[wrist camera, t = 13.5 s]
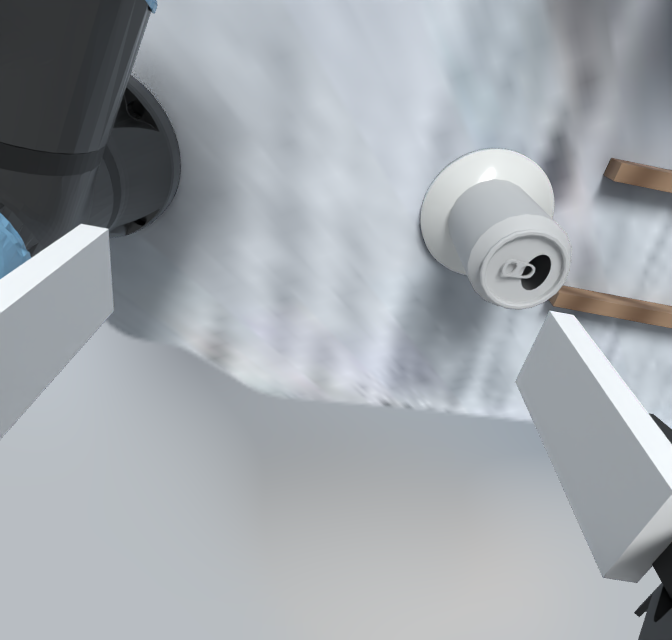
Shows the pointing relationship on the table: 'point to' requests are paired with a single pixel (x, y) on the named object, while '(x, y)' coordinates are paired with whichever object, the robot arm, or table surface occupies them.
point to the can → (509, 245)
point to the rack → (612, 303)
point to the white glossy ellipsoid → (465, 176)
